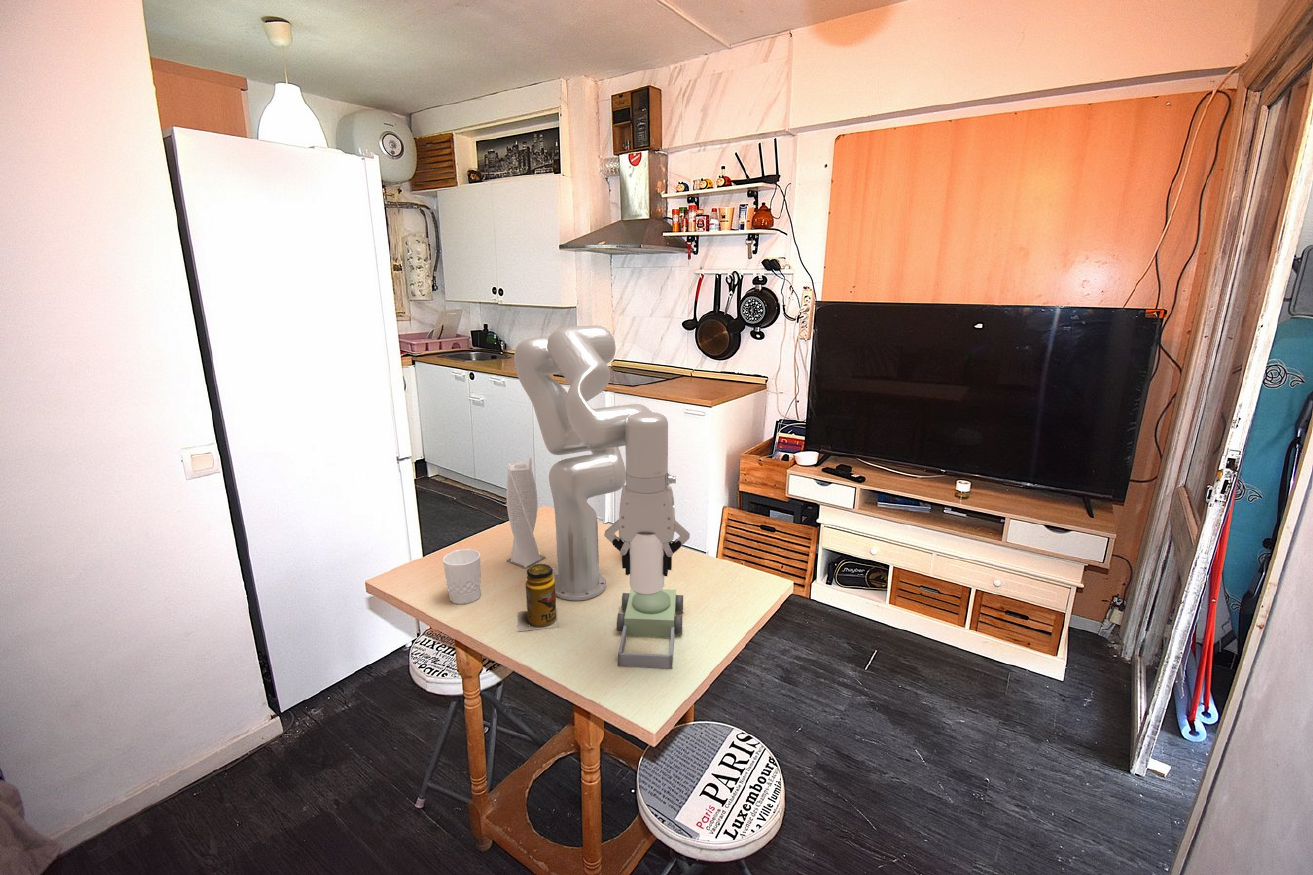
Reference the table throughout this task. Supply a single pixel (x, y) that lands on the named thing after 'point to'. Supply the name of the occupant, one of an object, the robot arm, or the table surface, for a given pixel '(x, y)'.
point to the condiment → (539, 600)
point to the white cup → (463, 575)
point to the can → (646, 564)
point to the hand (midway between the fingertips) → (647, 571)
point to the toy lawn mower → (649, 625)
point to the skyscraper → (522, 514)
